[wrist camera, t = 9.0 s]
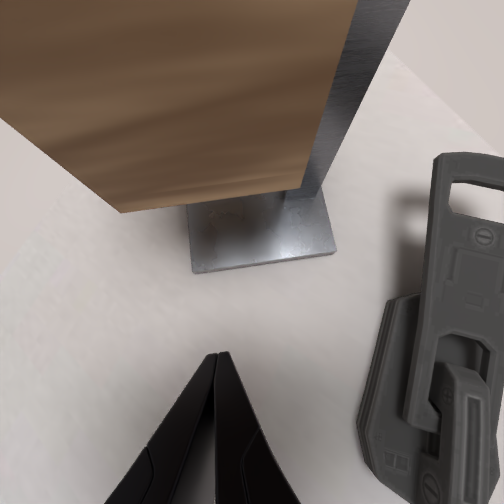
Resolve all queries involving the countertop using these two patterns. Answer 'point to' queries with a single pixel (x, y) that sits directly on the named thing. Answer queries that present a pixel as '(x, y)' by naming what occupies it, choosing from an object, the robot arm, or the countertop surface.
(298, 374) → the countertop surface
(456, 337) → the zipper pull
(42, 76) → the cardboard box
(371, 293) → the countertop surface
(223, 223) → the post stand
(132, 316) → the countertop surface
